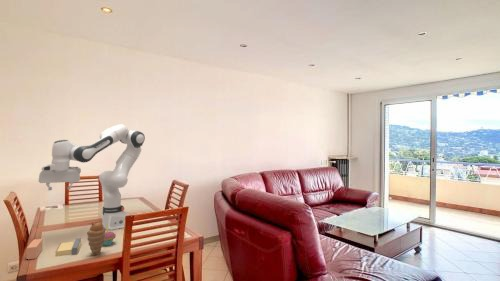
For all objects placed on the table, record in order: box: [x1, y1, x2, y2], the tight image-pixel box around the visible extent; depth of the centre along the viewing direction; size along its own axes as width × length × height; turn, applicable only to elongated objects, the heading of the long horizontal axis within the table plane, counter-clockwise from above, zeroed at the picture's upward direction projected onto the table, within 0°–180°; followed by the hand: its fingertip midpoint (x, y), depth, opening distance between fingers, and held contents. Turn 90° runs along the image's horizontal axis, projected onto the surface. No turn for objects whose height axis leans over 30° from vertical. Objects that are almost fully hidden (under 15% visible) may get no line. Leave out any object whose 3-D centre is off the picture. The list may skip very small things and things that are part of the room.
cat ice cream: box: [86, 219, 106, 256], centre depth 144 cm, size 9×8×18 cm
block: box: [25, 238, 44, 260], centre depth 141 cm, size 4×12×6 cm, turn 26°
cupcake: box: [103, 224, 117, 247], centre depth 158 cm, size 9×8×12 cm
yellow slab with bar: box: [55, 237, 82, 257], centre depth 148 cm, size 10×15×4 cm
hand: (59, 189), depth 159 cm, fingers open, 8 cm apart
